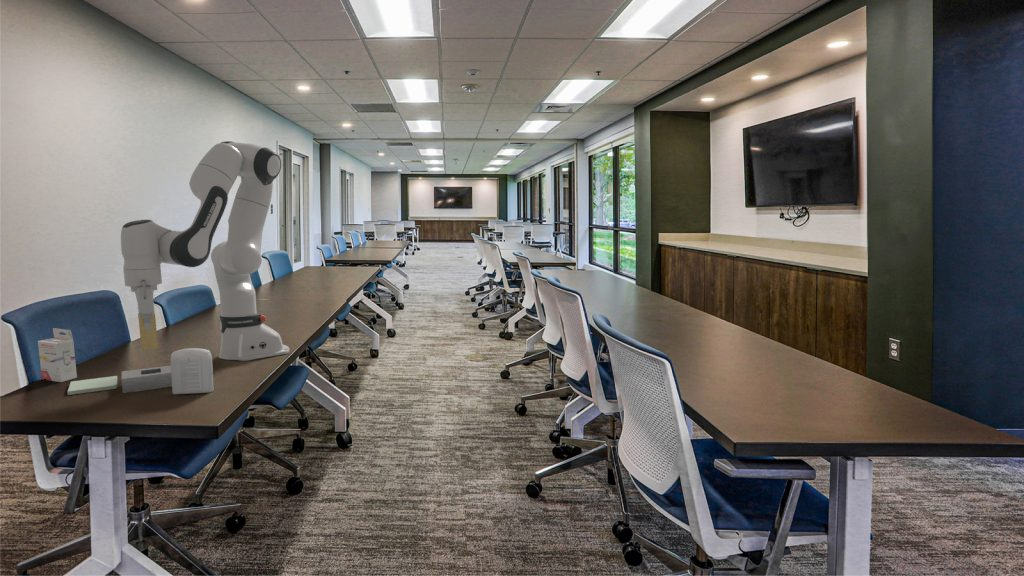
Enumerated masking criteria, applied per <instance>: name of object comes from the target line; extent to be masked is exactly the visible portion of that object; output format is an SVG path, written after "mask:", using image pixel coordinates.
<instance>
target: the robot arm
mask: <svg viewBox="0 0 1024 576" xmlns="http://www.w3.org/2000/svg"><path fill="white" fill-rule="evenodd" d="M281 170H282V160H281V158H280V155H279V153H278V152H277V151H275V150H273V149H271V148H269V147H263V146H261V145H257V144H253V143H244V142H235V141H231V140H230V141H229V140H228V141H221V142H219V143H216V144H214V145H213V146H212V147H211V148H210V149H209V150H208V151H207V152H206V153H205V154H204V156H203V157H202V158H201V160H200V161H199V163H198V164H197V166H196V167H195V169H194V170H193V172H192V174H191V176H190V179H189V182H188V183H189V189H190V190H191V192H192V195H194V196H195V198H197V199H198V200H200V206H199V208H198V210H197V212H196V214H195V216H194V218H193V221H192V223H191V224H190V226H189V227H188V228H187V229H185V230H182V231H179V230H178V231H177V230H172V229H168V228H166V227H163V226H161V225H159V224H158V223H156V222H154V221H153V220H152V219H140V220H138V219H137V220H132V221H129V222H128V221H127V222H126V223H125V224H123V225H122V227H121V230H120V231H121V232H120V246H121V247H120V249H121V250H120V251H121V255H122V258H123V260H124V261H123V267H122V269H123V279H124V280H123V281H124V286H125V287H128V288H129V287H130V292H132V293H134V294H135V297H136V301H137V311H138V313H139V316H142V317H143V322H144V328H145V329H151V328H152V324H151V316H152V315H154V313H155V314H156V312H155V302H154V291H157V290H158V285H161V284H162V283H163V279H162V269H161V264H162V263H163V264H169V265H177V266H182V267H183V266H184V267H186V268H196V267H199V266H201V265H203V264H204V263H205V262H206V261H207V260H208V259H209V256H210V258H211V263H212V264H213V270H214V273H215V274H214V275H215V279H216V284H217V287H218V292H219V302H220V316H219V330H220V332H221V340H220V348H219V349H220V350H219V352H218V353H219V354H218V358H219V359H222V360H231V361H232V360H234V361H236V360H237V361H242V362H243V361H244V362H245V361H251V360H257V359H263V358H270V357H275V356H276V357H277V356H280V355H287V354H289V353H290V347H289V346H288V345H286V344H283V340H282V337H281V335H280V334H279V332H278V331H276V330H274V329H273V328H271V327H270V326H268V325H266V324H265V323H264V322H266V321H267V319H268V318H267V316H265V315H264V314H260V313H258V312H257V298H256V297H257V296H256V295H257V294H256V293H257V292H256V289H255V287H254V285H253V282H252V279H251V275H252V274H253V273H256V272H257V271H258V270H259V269H260V267H261V265H262V260H263V258H262V255H261V251H262V239H263V231H264V227H265V224H266V219H267V217H268V212H269V209H270V206H271V201H272V194H273V190H274V189H273V187H274V186H273V185H274V183H273V182H274V180H276V178H277V177H278V176H279V174H280V172H281ZM238 177H240V180H241V181H240V184H239V186H238V187H237V190H236V193H235V196H234V198H233V203H232V207H231V208H230V213H229V216H228V219H227V223H228V231H227V239H226V241H222V242H221V243H218V244H216V246H215V247H213V249H211V248H212V242H213V237H214V235H215V233H216V230H217V228H218V226H219V224H220V221H221V220H222V218H223V215H224V212H225V210H226V207H227V204H228V200H229V193H230V191H231V189H232V188H233V186H234V184H235V182H236V180H237V178H238Z"/></svg>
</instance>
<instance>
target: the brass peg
mask: <svg viewBox="0 0 1024 576" xmlns="http://www.w3.org/2000/svg"><path fill="white" fill-rule="evenodd" d="M137 315H138V316H137V317H138V327H139V336H140V348H141V351H150V350H151V351H152V350H158V349H159V342H158V332H157V331H158V330H157V322H156V312H155V313H154V315H152V316H151V324H152V328H151V329H145V328H144V322H143V317H142V316H139V312H138V313H137Z"/></svg>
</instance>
